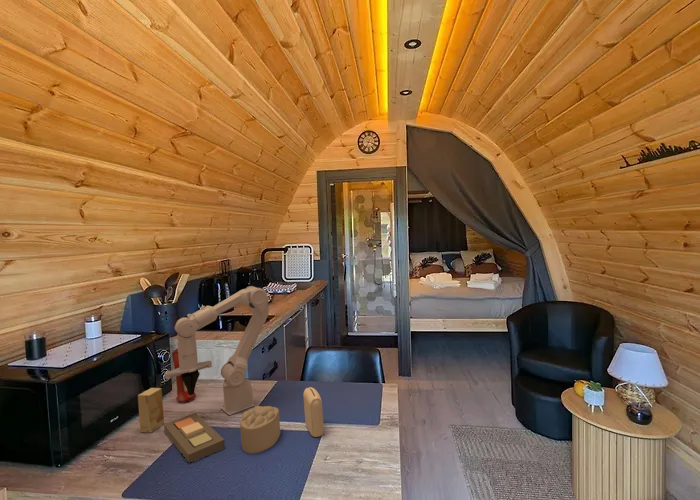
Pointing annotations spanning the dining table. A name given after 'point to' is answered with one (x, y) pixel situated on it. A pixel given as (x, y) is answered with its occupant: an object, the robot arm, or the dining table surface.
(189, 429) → the cream key
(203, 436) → the sage key
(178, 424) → the terracotta key
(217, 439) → the keypad base
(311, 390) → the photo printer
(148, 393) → the skincare box
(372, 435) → the dining table surface
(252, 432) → the lumpy-topped squat cylinder
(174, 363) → the liquor
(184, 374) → the robot arm
